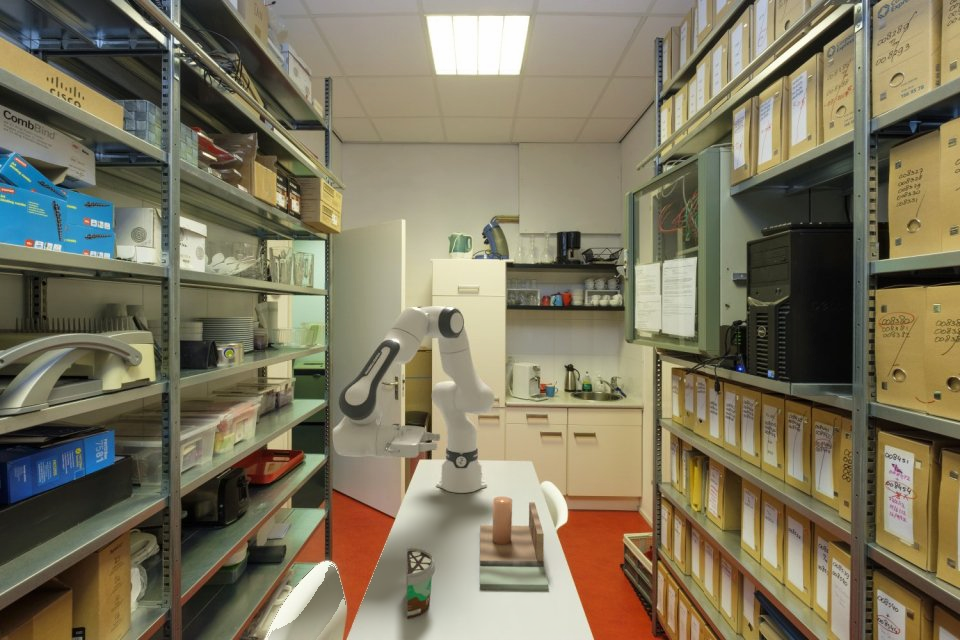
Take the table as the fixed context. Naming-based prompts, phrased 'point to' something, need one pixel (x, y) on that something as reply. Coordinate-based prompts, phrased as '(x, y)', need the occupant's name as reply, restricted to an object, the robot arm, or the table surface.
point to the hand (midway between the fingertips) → (438, 441)
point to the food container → (418, 581)
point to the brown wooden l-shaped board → (514, 557)
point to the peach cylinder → (502, 520)
